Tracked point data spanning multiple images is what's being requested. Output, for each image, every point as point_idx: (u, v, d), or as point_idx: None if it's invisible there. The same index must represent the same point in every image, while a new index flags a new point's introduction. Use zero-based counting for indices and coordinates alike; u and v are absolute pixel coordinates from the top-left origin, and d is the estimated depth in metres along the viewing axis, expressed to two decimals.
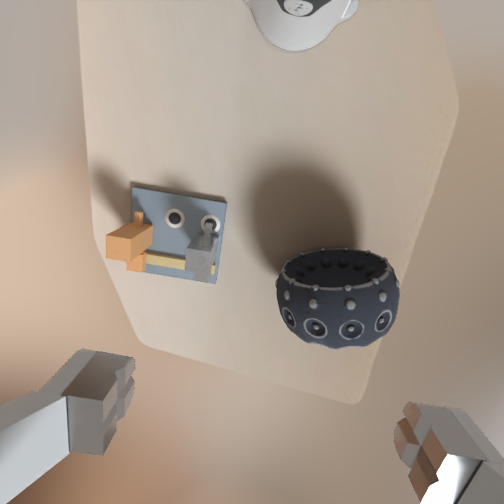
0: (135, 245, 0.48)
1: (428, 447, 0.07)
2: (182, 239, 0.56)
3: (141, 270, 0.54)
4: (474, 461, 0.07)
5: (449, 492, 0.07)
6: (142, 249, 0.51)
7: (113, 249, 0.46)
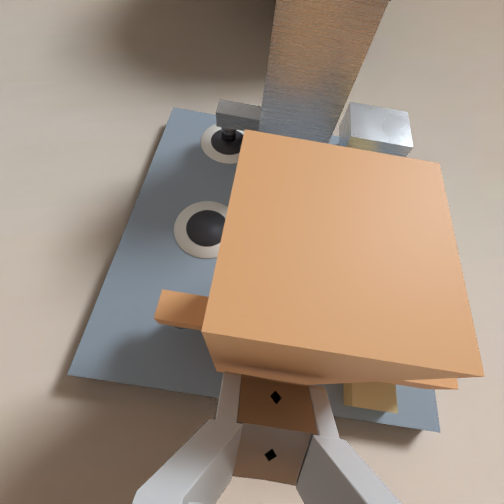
0: None
1: None
2: None
3: None
4: (306, 435, 0.07)
5: (288, 468, 0.07)
6: None
7: (357, 273, 0.04)
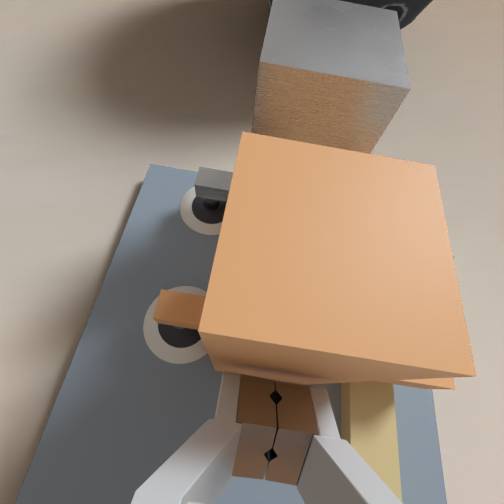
0: None
1: None
2: None
3: None
4: (307, 435, 0.07)
5: (289, 468, 0.07)
6: None
7: (352, 274, 0.05)
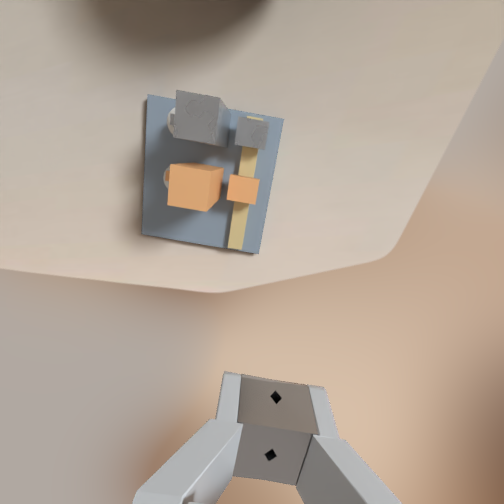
0: (192, 166, 0.29)
1: None
2: None
3: (256, 180, 0.34)
4: (306, 435, 0.07)
5: (288, 468, 0.07)
6: (213, 168, 0.32)
7: (190, 196, 0.28)
